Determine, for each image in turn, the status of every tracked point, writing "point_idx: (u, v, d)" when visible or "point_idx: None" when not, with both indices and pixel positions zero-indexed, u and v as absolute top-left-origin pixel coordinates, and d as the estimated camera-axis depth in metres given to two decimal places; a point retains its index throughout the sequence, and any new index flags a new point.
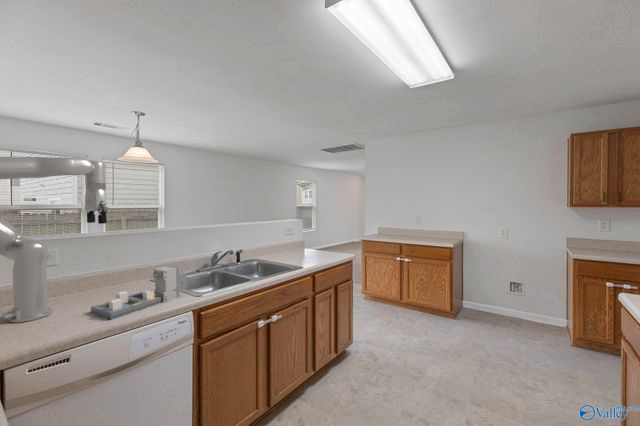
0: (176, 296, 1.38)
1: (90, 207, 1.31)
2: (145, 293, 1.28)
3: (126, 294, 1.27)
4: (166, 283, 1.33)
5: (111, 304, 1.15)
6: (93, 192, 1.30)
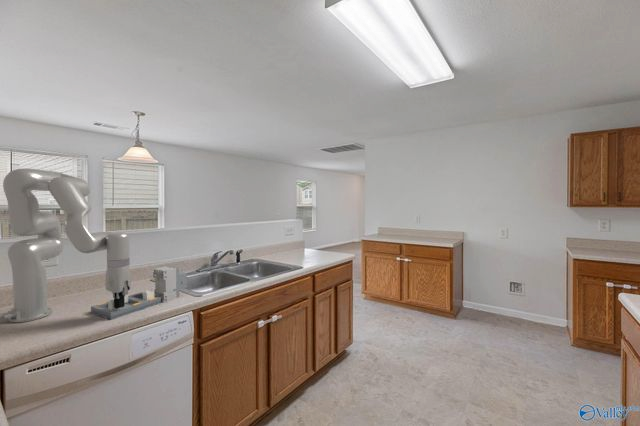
0: (176, 296, 1.38)
1: (112, 288, 1.12)
2: (145, 293, 1.28)
3: None
4: (166, 283, 1.33)
5: (110, 304, 1.15)
6: (116, 271, 1.11)
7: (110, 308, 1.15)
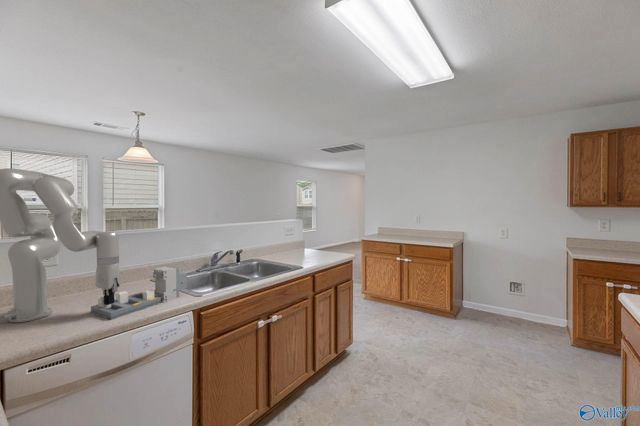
0: (176, 296, 1.38)
1: (102, 285, 1.16)
2: (145, 293, 1.28)
3: (126, 294, 1.27)
4: (166, 283, 1.33)
5: (100, 301, 1.19)
6: (105, 268, 1.15)
7: (100, 305, 1.19)
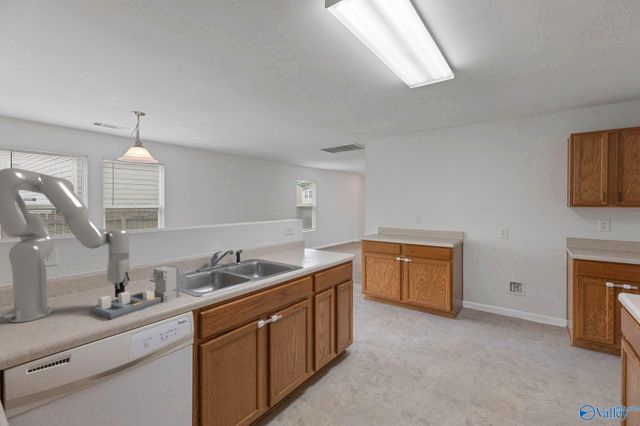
0: (176, 296, 1.38)
1: (113, 279, 1.24)
2: (145, 293, 1.28)
3: (128, 295, 1.26)
4: (166, 283, 1.33)
5: (100, 301, 1.19)
6: (117, 263, 1.23)
7: (100, 305, 1.19)
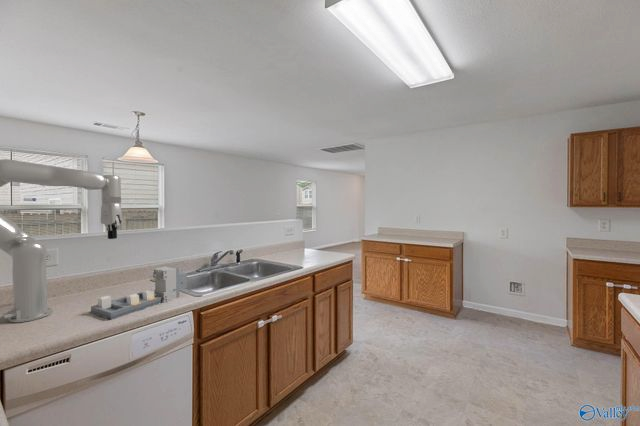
0: (176, 296, 1.38)
1: (106, 221, 1.33)
2: (145, 293, 1.28)
3: (137, 297, 1.23)
4: (166, 283, 1.33)
5: (100, 301, 1.19)
6: (109, 206, 1.32)
7: (100, 305, 1.19)
